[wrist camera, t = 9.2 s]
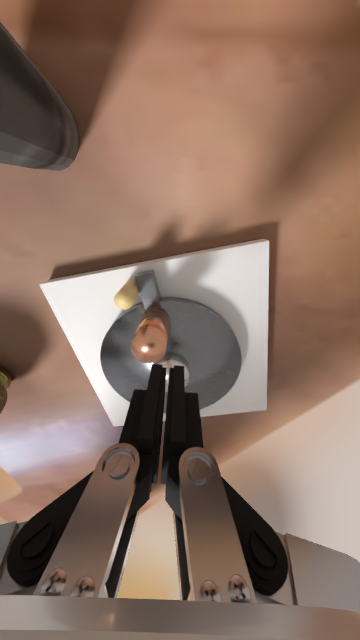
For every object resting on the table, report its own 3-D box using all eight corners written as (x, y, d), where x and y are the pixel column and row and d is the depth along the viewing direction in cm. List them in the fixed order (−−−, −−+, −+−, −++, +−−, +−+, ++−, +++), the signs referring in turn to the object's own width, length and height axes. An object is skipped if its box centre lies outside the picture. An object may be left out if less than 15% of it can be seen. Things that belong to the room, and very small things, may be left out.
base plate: (262, 400, 26) (278, 437, 22) (117, 416, 28) (104, 454, 24) (262, 238, 17) (290, 246, 13) (49, 279, 19) (8, 298, 15)
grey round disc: (243, 396, 23) (259, 446, 18) (129, 412, 25) (116, 461, 20) (228, 252, 16) (249, 269, 11) (69, 287, 18) (23, 316, 13)
